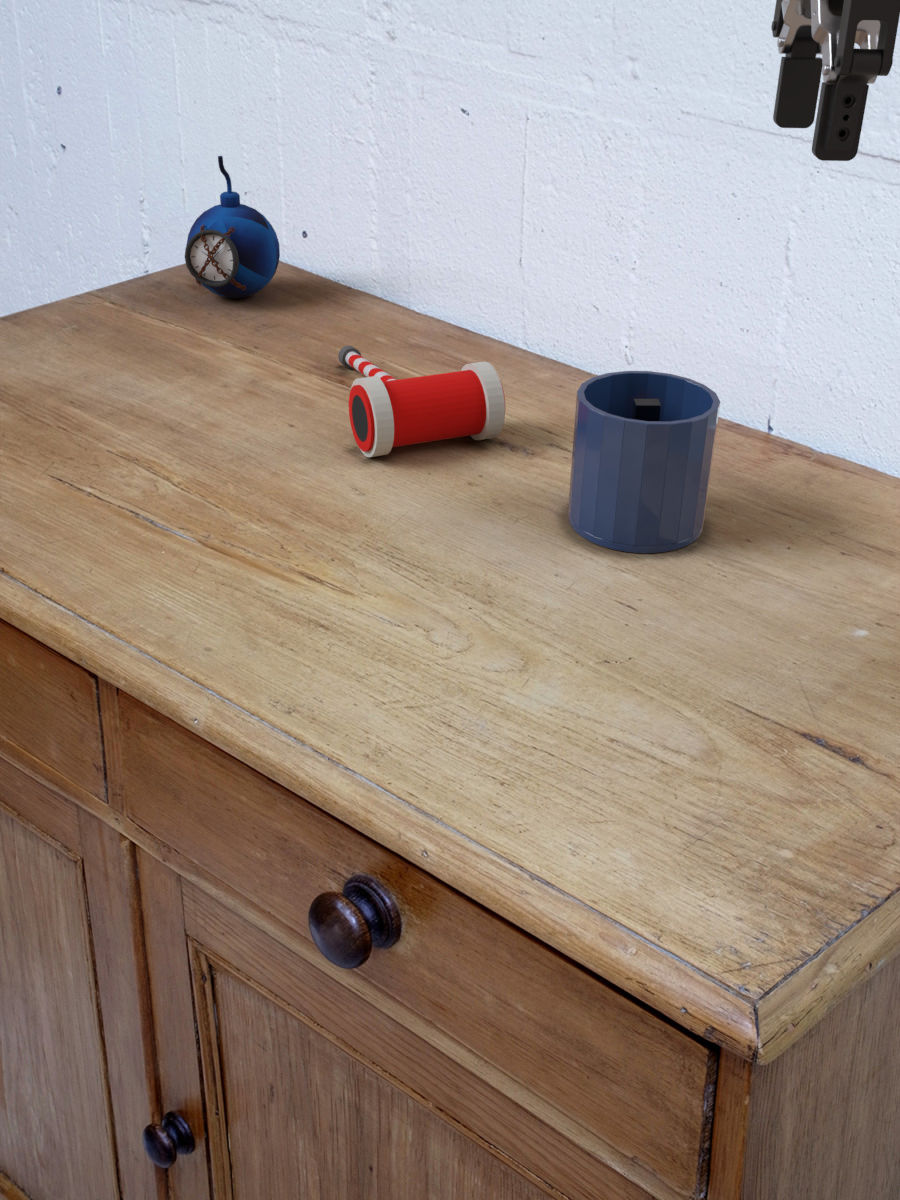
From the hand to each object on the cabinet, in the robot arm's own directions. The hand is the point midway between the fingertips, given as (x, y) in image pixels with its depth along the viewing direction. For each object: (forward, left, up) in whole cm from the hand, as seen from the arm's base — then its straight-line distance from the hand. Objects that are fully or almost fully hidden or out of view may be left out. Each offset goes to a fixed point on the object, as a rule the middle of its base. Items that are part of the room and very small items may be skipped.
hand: (811, 142), depth 72 cm
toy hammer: (+23, -32, -30) cm, 50 cm away
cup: (+5, -13, -30) cm, 33 cm away
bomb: (+41, -65, -30) cm, 83 cm away
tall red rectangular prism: (+5, -13, -30) cm, 33 cm away
